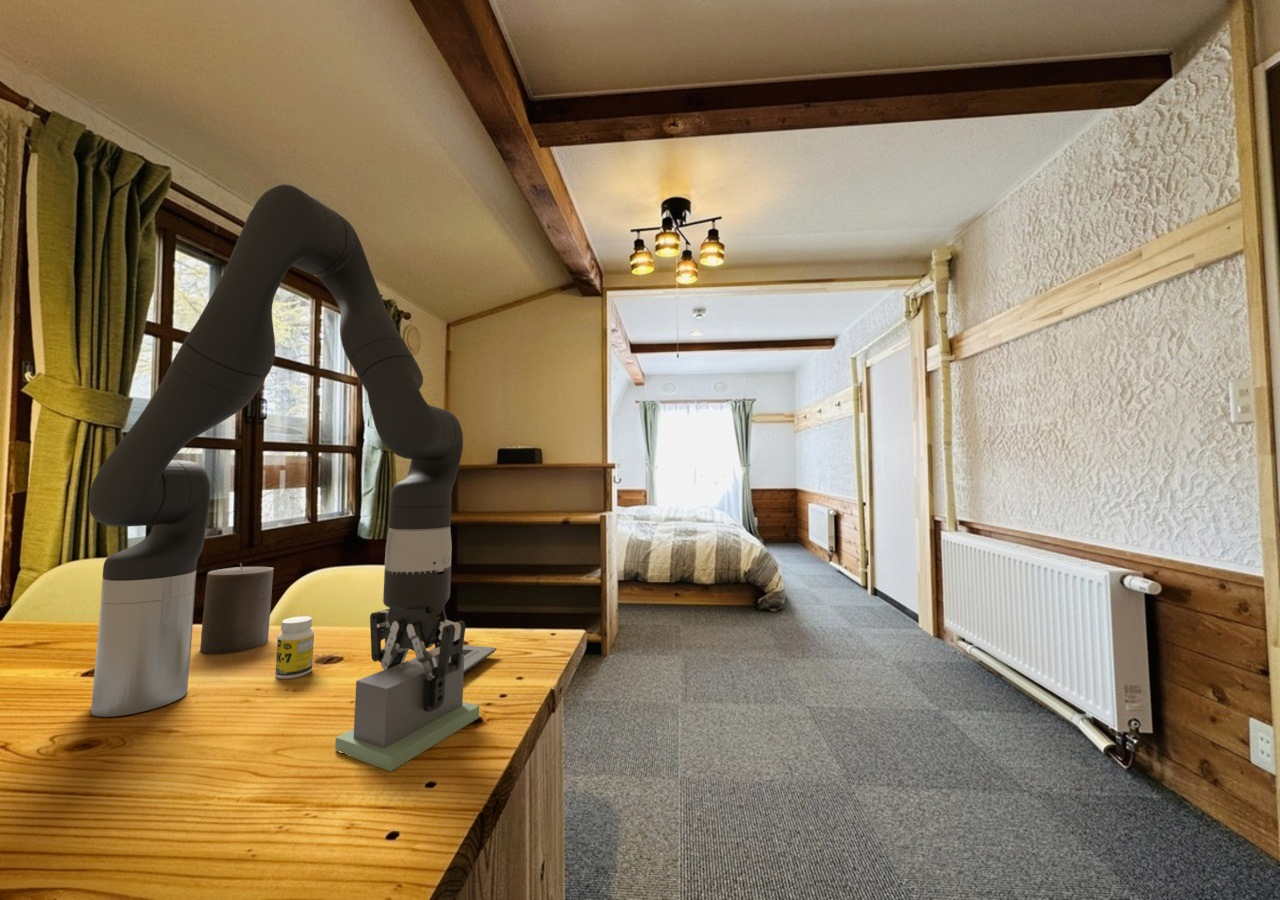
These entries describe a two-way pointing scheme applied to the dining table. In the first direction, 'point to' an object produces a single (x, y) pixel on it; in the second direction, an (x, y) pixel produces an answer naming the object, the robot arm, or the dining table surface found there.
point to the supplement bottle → (295, 648)
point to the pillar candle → (236, 609)
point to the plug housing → (400, 702)
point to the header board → (408, 740)
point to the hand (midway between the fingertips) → (413, 702)
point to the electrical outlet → (474, 655)
